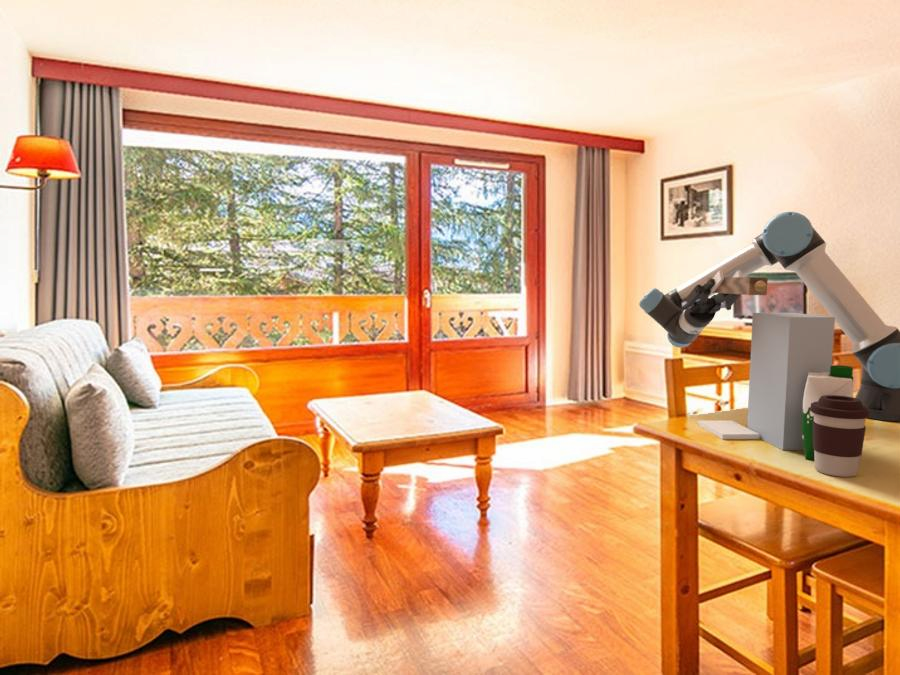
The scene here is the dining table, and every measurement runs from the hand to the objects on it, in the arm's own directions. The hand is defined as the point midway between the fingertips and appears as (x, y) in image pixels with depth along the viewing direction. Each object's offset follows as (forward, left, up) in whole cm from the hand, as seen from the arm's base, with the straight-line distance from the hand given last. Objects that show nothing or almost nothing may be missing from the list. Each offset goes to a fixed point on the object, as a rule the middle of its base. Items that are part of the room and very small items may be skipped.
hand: (730, 274), depth 153 cm
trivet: (0, +4, -39) cm, 39 cm away
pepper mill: (0, +3, -5) cm, 6 cm away
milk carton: (-12, +25, -39) cm, 48 cm away
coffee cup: (-9, +35, -39) cm, 53 cm away
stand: (-10, +11, -39) cm, 42 cm away
